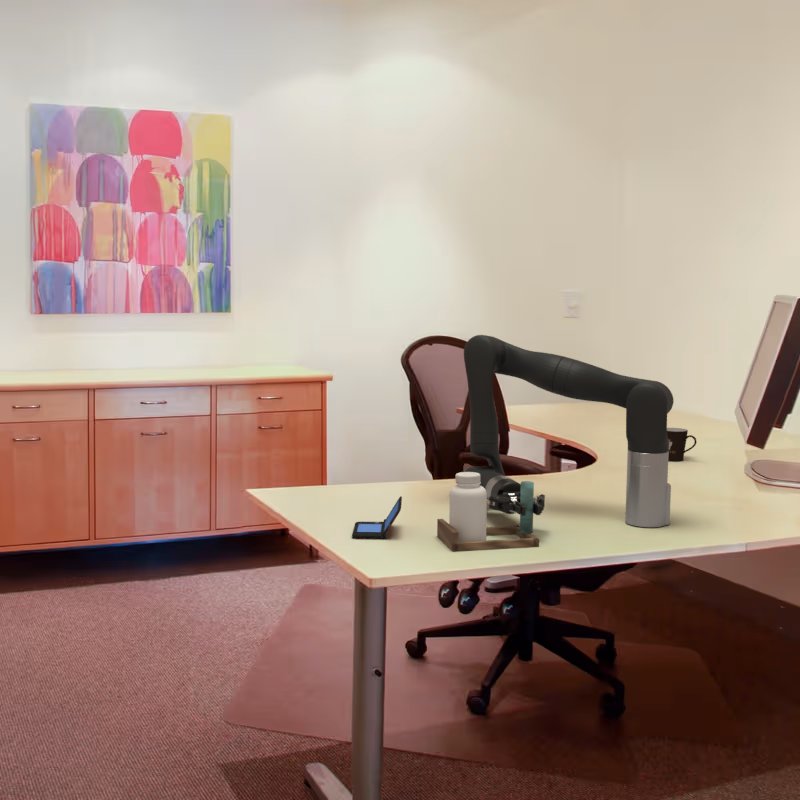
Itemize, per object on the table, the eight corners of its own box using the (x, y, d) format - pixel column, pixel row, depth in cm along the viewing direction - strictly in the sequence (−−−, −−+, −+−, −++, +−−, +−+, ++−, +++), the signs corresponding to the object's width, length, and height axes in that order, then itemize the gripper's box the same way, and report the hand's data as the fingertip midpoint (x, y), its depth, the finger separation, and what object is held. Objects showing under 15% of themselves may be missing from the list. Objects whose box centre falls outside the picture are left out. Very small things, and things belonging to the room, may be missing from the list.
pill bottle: (441, 542, 202) (442, 473, 201) (466, 535, 208) (467, 469, 206) (469, 549, 197) (470, 479, 195) (493, 542, 202) (495, 474, 201)
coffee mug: (653, 458, 309) (654, 428, 307) (676, 457, 311) (677, 427, 310) (674, 464, 298) (675, 433, 296) (697, 463, 300) (699, 432, 299)
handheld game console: (355, 526, 217) (355, 494, 216) (402, 526, 217) (402, 495, 216) (351, 540, 205) (351, 507, 204) (400, 541, 204) (401, 507, 204)
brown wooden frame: (522, 532, 211) (523, 476, 210) (542, 546, 200) (543, 487, 198) (437, 536, 207) (437, 480, 206) (452, 551, 195) (453, 491, 194)
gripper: (476, 479, 216) (500, 495, 200) (534, 477, 219) (562, 492, 203) (476, 511, 217) (500, 529, 201) (533, 508, 220) (562, 526, 204)
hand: (531, 510), depth 202 cm, fingers closed on brown wooden frame, 3 cm apart
